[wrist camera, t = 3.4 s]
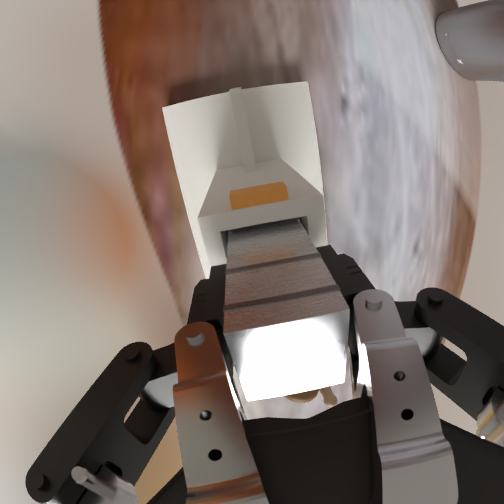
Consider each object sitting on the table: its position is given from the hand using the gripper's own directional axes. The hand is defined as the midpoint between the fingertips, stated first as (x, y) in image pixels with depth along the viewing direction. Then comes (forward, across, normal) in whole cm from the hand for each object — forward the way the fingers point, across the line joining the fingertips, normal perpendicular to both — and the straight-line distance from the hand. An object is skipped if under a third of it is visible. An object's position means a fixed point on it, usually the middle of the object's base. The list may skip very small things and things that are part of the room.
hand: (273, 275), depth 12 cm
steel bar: (+12, 0, 0) cm, 12 cm away
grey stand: (+15, 0, 0) cm, 15 cm away
